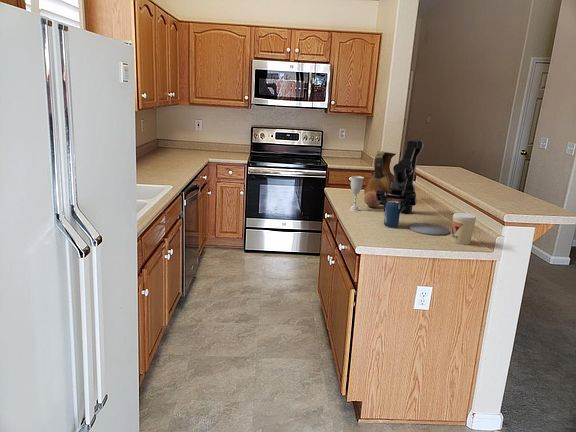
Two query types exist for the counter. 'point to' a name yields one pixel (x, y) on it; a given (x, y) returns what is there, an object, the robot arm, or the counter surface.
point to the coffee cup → (462, 228)
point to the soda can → (392, 213)
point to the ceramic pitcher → (381, 174)
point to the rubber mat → (429, 229)
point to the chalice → (356, 189)
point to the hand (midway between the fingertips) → (391, 212)
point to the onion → (371, 199)
